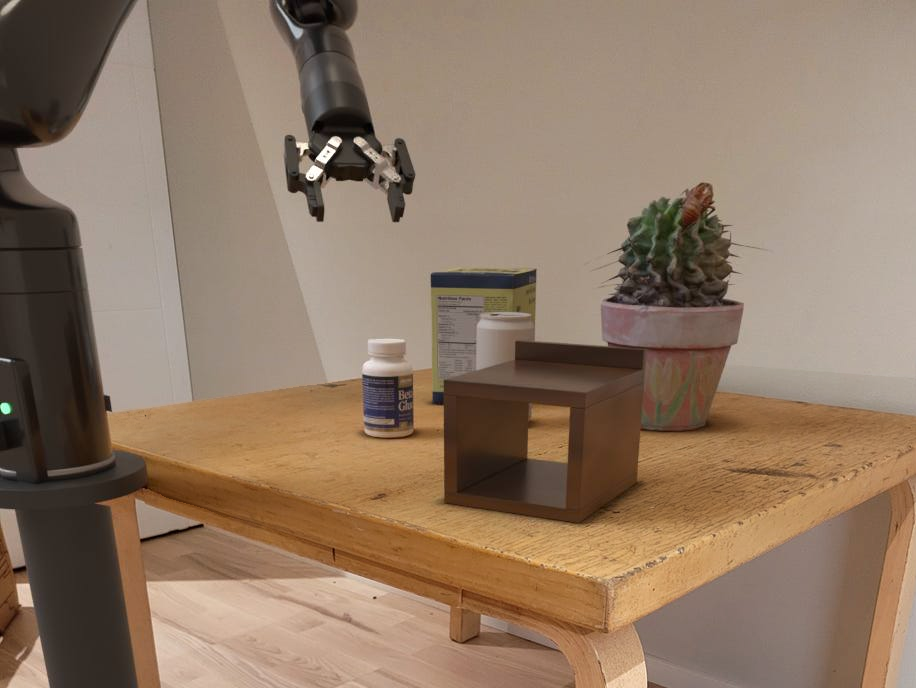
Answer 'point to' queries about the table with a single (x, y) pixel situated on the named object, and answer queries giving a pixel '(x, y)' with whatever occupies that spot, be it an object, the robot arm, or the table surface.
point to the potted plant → (675, 307)
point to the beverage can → (501, 338)
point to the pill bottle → (387, 390)
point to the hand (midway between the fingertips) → (359, 216)
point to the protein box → (471, 313)
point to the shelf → (506, 430)
